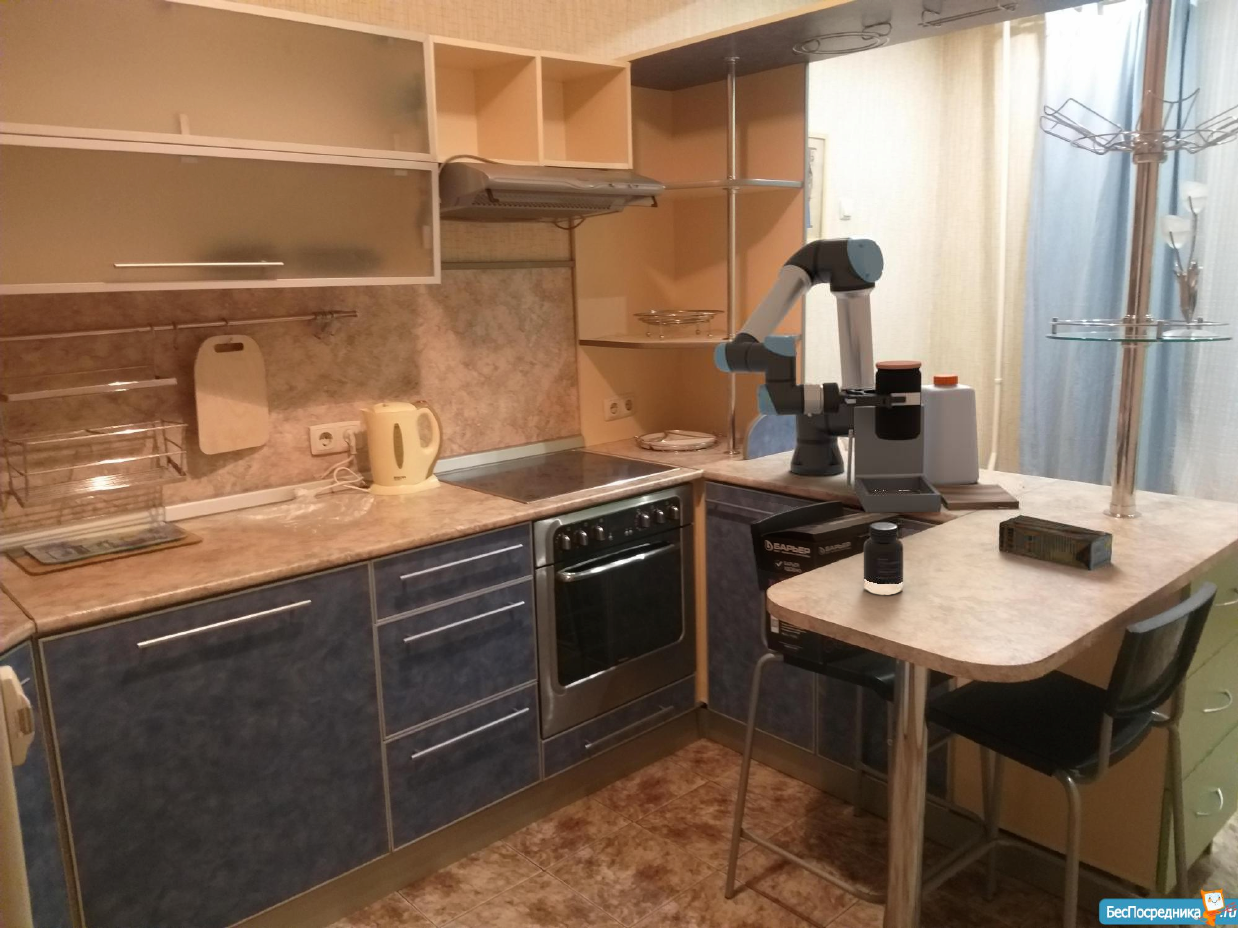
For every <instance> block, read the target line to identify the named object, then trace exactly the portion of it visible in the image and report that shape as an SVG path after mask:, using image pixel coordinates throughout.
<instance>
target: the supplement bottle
mask: <svg viewBox="0 0 1238 928" xmlns="http://www.w3.org/2000/svg"><path fill="white" fill-rule="evenodd" d="M868 530H869V531H868V536H869V538H867V539H866V540H865V541H864V543H863V580H864V579H866V580H867V581H869V582H873V583H877V584H899V583H901V582H903V583H904V545H903V542H902V541H901V540H900V539H898V538H897V537H899V532H898V531H899V529H898V525H897V524H895V523H892V522H886V521H885V522H883V521H881V522H880V521H879V522H873V523H870V524H869V529H868Z"/></svg>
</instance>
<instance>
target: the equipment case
mask: <svg viewBox="0 0 1238 928" xmlns="http://www.w3.org/2000/svg"><path fill="white" fill-rule="evenodd" d="M853 439H854V441H853ZM853 442H854V443H853ZM853 444H854V445H853ZM847 445H848V446H847V447H848V449H847V468H846V469H847V470H846V486H847V487H850V486H851V484H852V482H851V481H852V462H854V463H853V465H854V467H853V470H854V472H853V473H854V474H853V475H854V476H853V479H854V485H853V487H854V490H855V491H854V493H855V492H856V493H855V495H856V494H857V495H856V497H857V496H858V497H857V498H859V499H858V500H859V502H860V505H861V506H862V508H863V510H864V511H865V513H911V512H912V513H914V512H915V513H916V512H917V513H918V512H920V513H921V512H925V513H926V512H941V511H942V510H941V509H942V502H941V494H940V493H939V492H938V491H937V490H936V489H935V487H934V486H933V485H932V484H931V483H930V482H929V481H928V480H927V479H926V478H925V477H924V474H923V470H924V405H921V433H920V435H919V436H918V438H916V439H912V440H884V439H880V438H878V437H877V435H876V434H875V406H863V407H854V438H853V430H849V438H848V443H847ZM853 446H854V447H853ZM853 448H854V451H853ZM853 453H854V454H853ZM853 455H854V456H853ZM853 457H854V461H852V460H853ZM875 490H876V491H883V490H884V491H883V492H900V491H899V490H902V491H901V492H904V491H903V490H919V491H918V492H919V493H910V494H909V493H905V494H904V493H901V494H899V493H898V494H897V493H896V494H870V492H868V491H875ZM921 493H922V494H921Z"/></svg>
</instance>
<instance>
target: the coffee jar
mask: <svg viewBox="0 0 1238 928" xmlns="http://www.w3.org/2000/svg"><path fill="white" fill-rule="evenodd" d="M922 363H923V362H922V361H919V360H885V361H884V360H883V361H877V362H875V368H876V370H877V371H876V372H875V373H874V380H875V394H887V395H888V394H890V395H891V394H892V393H920V405H892V408H891V409H888V407H878V406H875V434H876V435H877V437H878V438H880V439H884V440H912V439H916V438H918V436H919V435H920V433H921V386H922V372H921V370H920V369H921V367H922Z"/></svg>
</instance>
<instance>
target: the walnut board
mask: <svg viewBox="0 0 1238 928" xmlns="http://www.w3.org/2000/svg"><path fill="white" fill-rule="evenodd" d="M934 487H935V489H936V490H937V491H938V492H939V493H940V494H941V504H943V506H945V508H946V509H948V510H955V509H956V510H957V509H958V510H964V509H966V510H967V509H971V510H973V509H1000V508H999V507H1009V508H1008V509H1016V508H1017V509H1018V508H1020V501H1019V500H1018V499H1017V498H1015V497H1014V496H1013V495H1012V494H1011V493H1009V492H1008V491H1007V490H1006V489H1004V488H1003V487H1002V486H1001V485H1000V484H998V483H993V484H963V485H940V486H934Z"/></svg>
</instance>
